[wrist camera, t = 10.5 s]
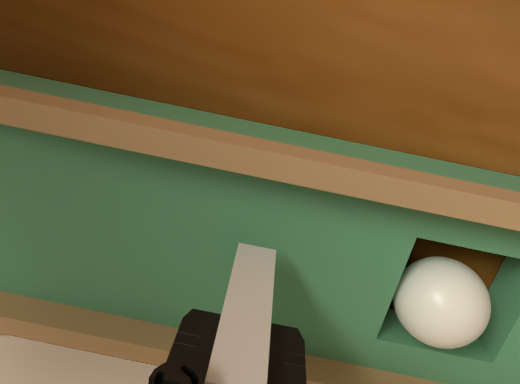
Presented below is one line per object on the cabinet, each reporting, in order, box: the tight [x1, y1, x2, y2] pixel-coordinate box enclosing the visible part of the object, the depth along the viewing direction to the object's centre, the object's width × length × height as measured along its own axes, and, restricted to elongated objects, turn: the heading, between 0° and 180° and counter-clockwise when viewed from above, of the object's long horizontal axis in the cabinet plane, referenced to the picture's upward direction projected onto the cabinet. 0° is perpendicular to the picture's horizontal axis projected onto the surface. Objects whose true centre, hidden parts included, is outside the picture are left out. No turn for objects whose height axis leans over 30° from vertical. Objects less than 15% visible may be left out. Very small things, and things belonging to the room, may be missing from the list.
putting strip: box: [0, 69, 520, 384], centre depth 18 cm, size 11×34×4 cm, turn 79°
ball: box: [393, 256, 491, 349], centre depth 18 cm, size 4×4×4 cm
